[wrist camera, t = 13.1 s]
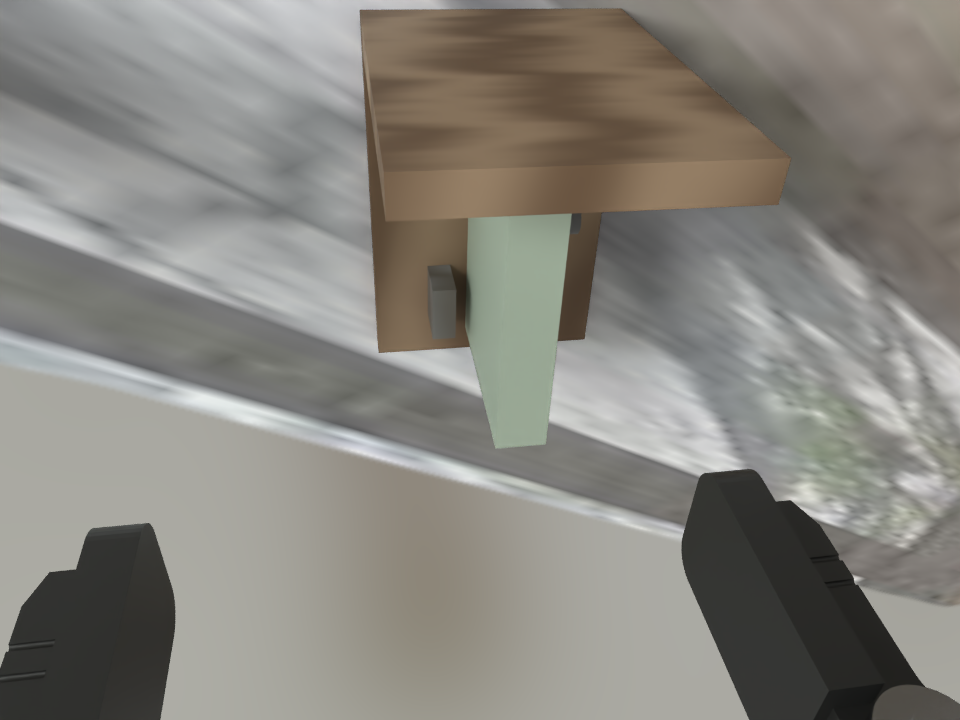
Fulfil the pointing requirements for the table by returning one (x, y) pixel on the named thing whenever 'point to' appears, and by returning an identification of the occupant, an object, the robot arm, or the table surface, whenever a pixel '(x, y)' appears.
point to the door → (516, 318)
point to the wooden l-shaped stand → (531, 147)
